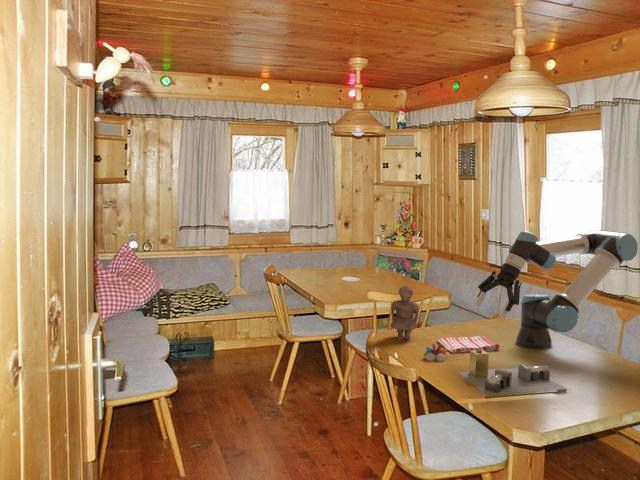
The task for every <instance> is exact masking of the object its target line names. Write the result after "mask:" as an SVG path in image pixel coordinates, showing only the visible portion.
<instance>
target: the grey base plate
mask: <svg viewBox="0 0 640 480" xmlns="http://www.w3.org/2000/svg"><path fill="white" fill-rule="evenodd" d="M495 369H496V368H494V369H488V377H479V378H475V377H474V376H472V375H471V374H470V373H469V370H468V371H467V370H464V371H457V373H458V374H459V376H462V377H463V378H464V379H465V380H467V381H468V382H469V383H470V384H471V385H473V386H474V387H475V388H477V390H479V391H480V392H482V393H483V394H484V395H485V396H484V398H485V399H494V398H496V399H497V398H509V397H521V396H523V397H524V396H532V395H533V396H534V395H545V394H547V395H548V394H557V393H558V394H560V393H568V389H567V387H564V386H563V385H561V384H559V383H558V382H556V381H555V380H553V379H551V378H550V380H542V379H541V378H539V381H532V380H530V382H526V381H524V380H523V379H521V378H520V377H518V367H515V368H514V367H512V368H511V367H509V368H500V369H501V370H505V371H509V372H512V375H511V386H510V387H508V386H506V388H505V389H501V391H500V392H498V393H496V392H493V391H489V390H486V389H485V380H487V379H490V378H491V377H492V376H495ZM531 392H532V393H531ZM535 392H536V393H535ZM518 393H519V394H518ZM520 393H521V394H520ZM504 394H505V395H504ZM506 394H507V395H506ZM509 394H510V395H509ZM492 395H493V396H492ZM494 395H495V396H494Z"/></svg>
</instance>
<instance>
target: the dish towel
mask: <svg viewBox="0 0 640 480" xmlns="http://www.w3.org/2000/svg"><path fill="white" fill-rule="evenodd" d="M436 341H437V343H438V344H439V345H440V344H441V345H442V347H443V349H447V352H449V353H451V354H457V353H459V352H460V353H459V354H462V353H461V352H464V353H470V350H484V351H485V352H494V351H498V350H500V345H501V344H499V343H498V342H497V343H495V342H491V341H490V340H489V339H487V338H486V336H484V335H477V336H469V337H468V336H467V337H466V336H464V337H443V338H441V337H440V338H437V339H436Z"/></svg>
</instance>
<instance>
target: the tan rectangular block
mask: <svg viewBox="0 0 640 480" xmlns="http://www.w3.org/2000/svg"><path fill="white" fill-rule="evenodd" d="M468 365H469V369H468V371H469V373H470V374H471V375H472V376H474V377H475V378H479V377H488V370H489V353H488V351H484V350H470V352H469V364H468Z"/></svg>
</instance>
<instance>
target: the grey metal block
mask: <svg viewBox="0 0 640 480" xmlns="http://www.w3.org/2000/svg"><path fill="white" fill-rule="evenodd" d="M517 368H518V377H520V378H521V379H523V380H524V381H526V382H530V380H532V381H539V378H541V379H542V380H550V379H551V377H550V376H551V371H550V367H549V366H548V365H538V366H537V365H536V366H528V365H526V364H525V363H518V367H517Z"/></svg>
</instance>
